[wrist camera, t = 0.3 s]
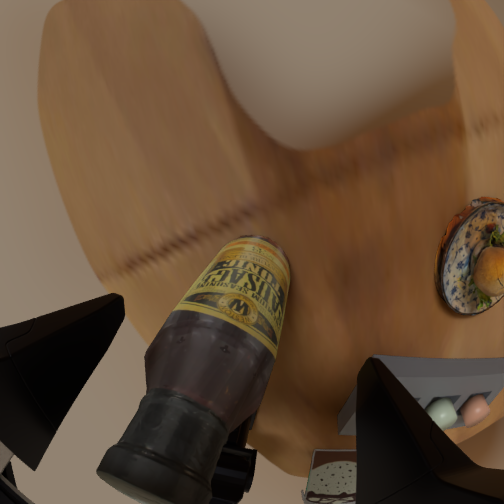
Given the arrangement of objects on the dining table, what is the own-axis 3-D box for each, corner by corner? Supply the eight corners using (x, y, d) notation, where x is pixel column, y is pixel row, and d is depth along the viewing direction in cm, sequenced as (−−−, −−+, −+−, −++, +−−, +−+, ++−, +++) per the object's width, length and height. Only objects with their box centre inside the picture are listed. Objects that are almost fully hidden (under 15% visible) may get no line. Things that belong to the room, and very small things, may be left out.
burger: (470, 322, 23) (499, 365, 16) (410, 275, 22) (442, 323, 15) (528, 238, 18) (568, 266, 11) (477, 169, 17) (531, 186, 10)
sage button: (440, 415, 25) (445, 431, 22) (418, 417, 25) (422, 435, 22) (456, 396, 23) (463, 413, 20) (434, 398, 23) (440, 416, 21)
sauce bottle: (304, 251, 22) (292, 527, 4) (270, 306, 25) (219, 532, 7) (232, 215, 22) (60, 440, 4) (206, 275, 25) (82, 476, 7)
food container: (298, 461, 38) (292, 508, 28) (305, 448, 35) (300, 500, 26) (362, 462, 36) (363, 506, 27) (374, 448, 34) (378, 497, 25)
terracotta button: (472, 410, 24) (478, 425, 21) (455, 413, 24) (460, 429, 22) (488, 392, 22) (494, 407, 20) (471, 395, 23) (477, 411, 20)
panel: (465, 410, 28) (470, 424, 25) (337, 415, 30) (338, 434, 27) (506, 357, 23) (515, 371, 20) (373, 354, 26) (378, 375, 23)
